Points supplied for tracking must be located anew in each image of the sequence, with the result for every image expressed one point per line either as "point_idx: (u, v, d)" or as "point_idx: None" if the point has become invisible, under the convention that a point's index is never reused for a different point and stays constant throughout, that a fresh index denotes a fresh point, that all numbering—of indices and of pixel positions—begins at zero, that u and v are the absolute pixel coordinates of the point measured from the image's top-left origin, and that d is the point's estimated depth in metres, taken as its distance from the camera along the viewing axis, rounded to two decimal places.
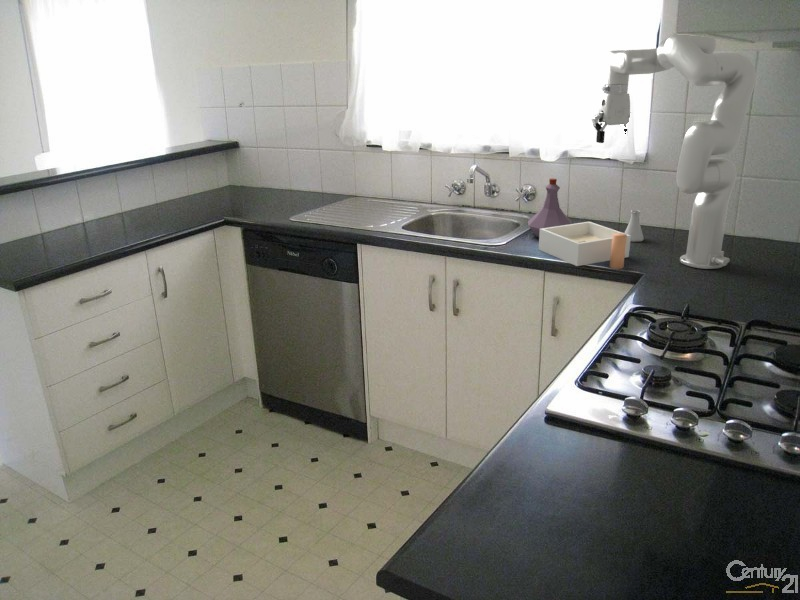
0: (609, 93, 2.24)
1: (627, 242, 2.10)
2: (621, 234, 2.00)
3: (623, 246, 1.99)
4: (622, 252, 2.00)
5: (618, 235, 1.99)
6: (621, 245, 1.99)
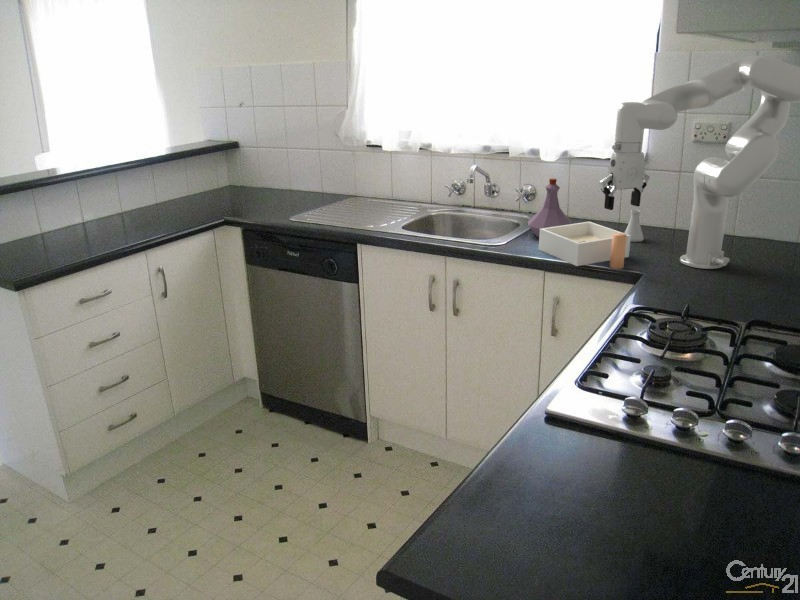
0: (620, 153, 1.89)
1: (627, 242, 2.10)
2: (621, 234, 2.00)
3: (623, 246, 1.99)
4: (622, 252, 2.00)
5: (618, 235, 1.99)
6: (621, 245, 1.99)
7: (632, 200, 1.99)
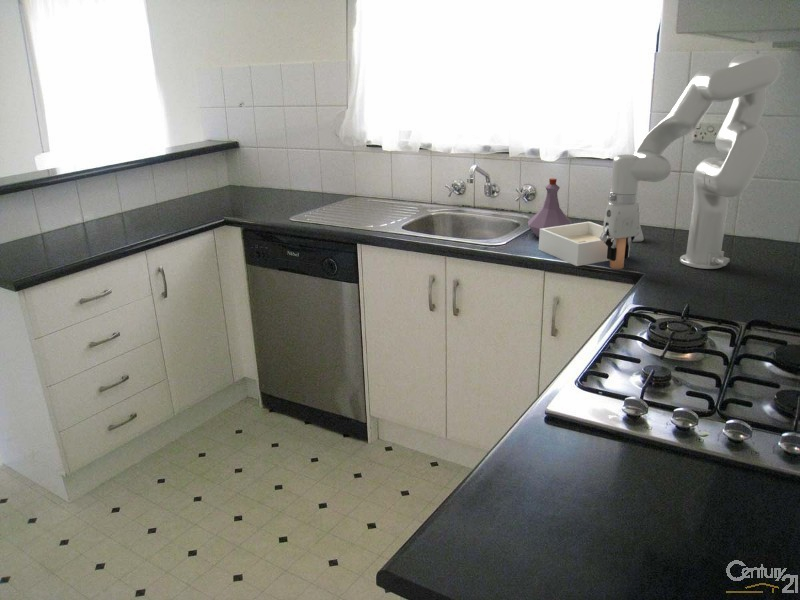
0: (615, 203, 1.94)
1: None
2: None
3: (623, 246, 1.99)
4: (622, 252, 2.00)
5: None
6: (620, 245, 1.99)
7: None
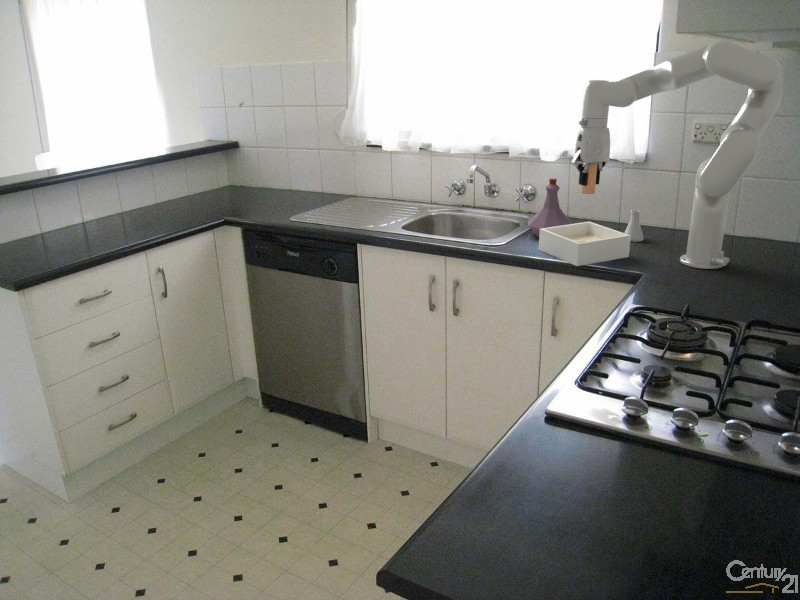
0: (586, 128, 2.00)
1: (627, 242, 2.10)
2: None
3: (594, 171, 2.06)
4: (593, 177, 2.06)
5: None
6: (592, 170, 2.05)
7: None
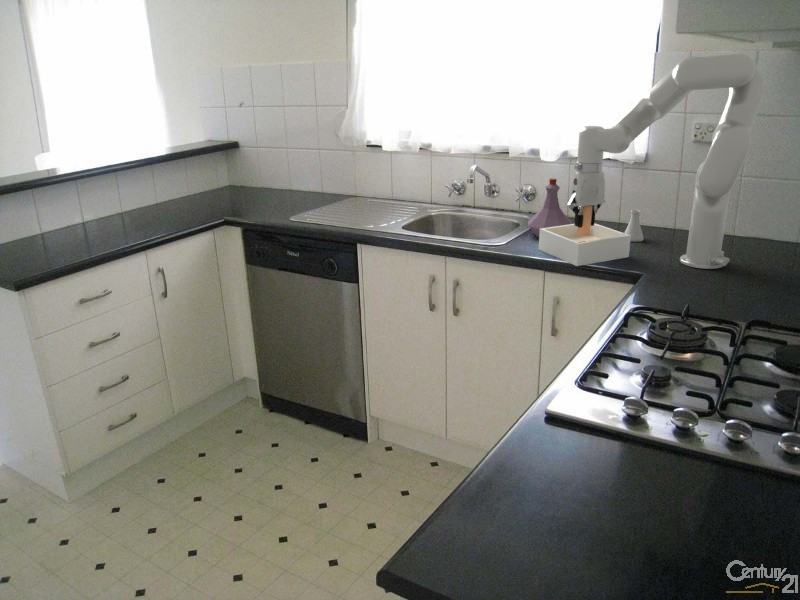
0: (581, 172, 2.06)
1: (627, 242, 2.10)
2: None
3: (589, 213, 2.11)
4: (589, 219, 2.11)
5: None
6: (587, 212, 2.11)
7: None
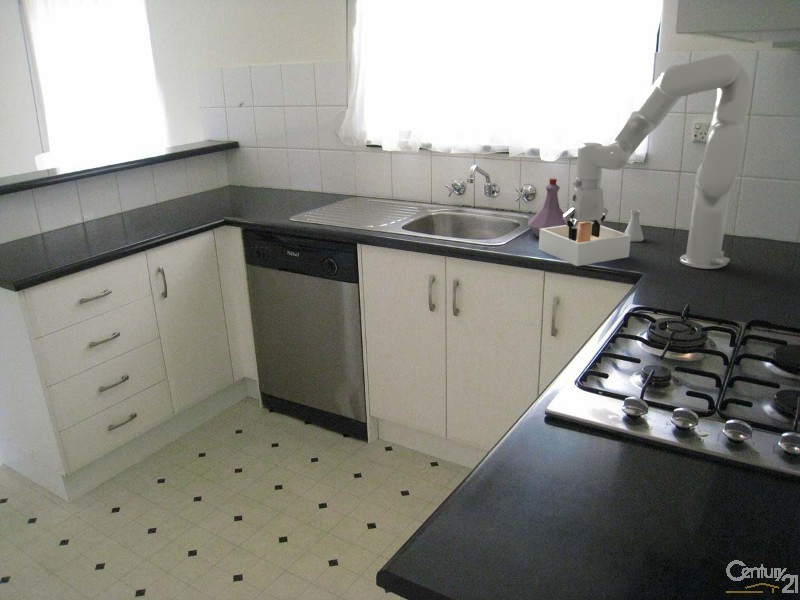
0: (580, 188, 2.07)
1: (627, 242, 2.10)
2: (586, 222, 2.14)
3: (588, 233, 2.13)
4: (588, 239, 2.14)
5: (583, 223, 2.13)
6: (586, 233, 2.13)
7: (592, 231, 2.17)
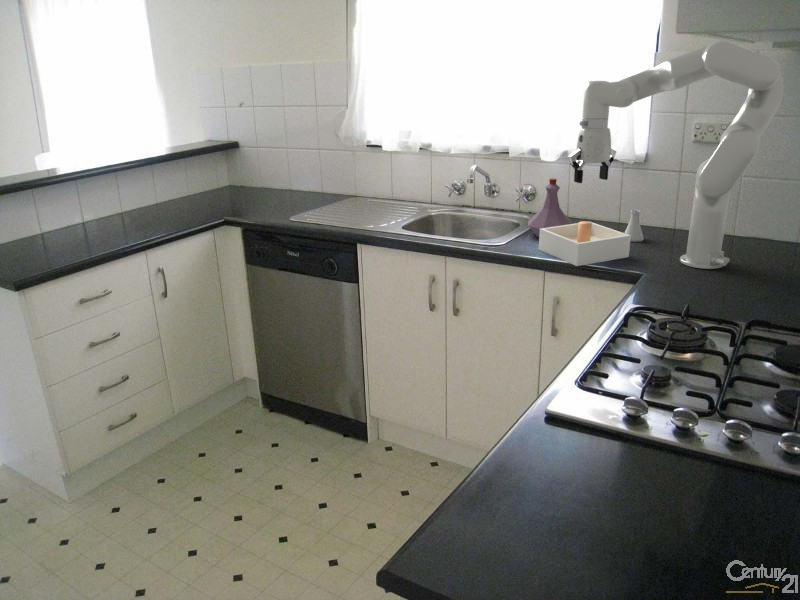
0: (587, 128, 2.01)
1: (627, 242, 2.10)
2: (586, 222, 2.14)
3: (588, 233, 2.13)
4: (588, 239, 2.14)
5: (583, 223, 2.13)
6: (586, 233, 2.13)
7: (600, 174, 2.11)
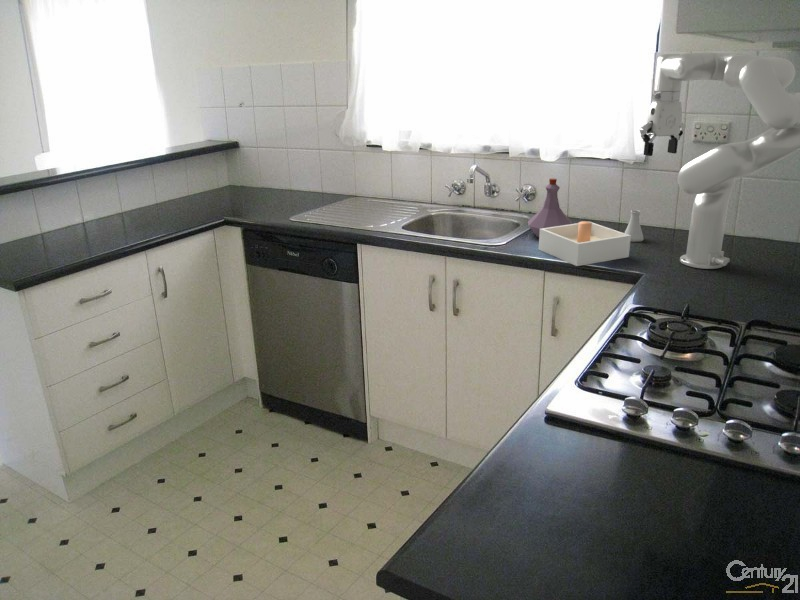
0: (659, 101, 2.03)
1: (627, 242, 2.10)
2: (586, 222, 2.14)
3: (588, 233, 2.13)
4: (588, 239, 2.14)
5: (583, 223, 2.13)
6: (586, 233, 2.13)
7: (669, 148, 2.13)
